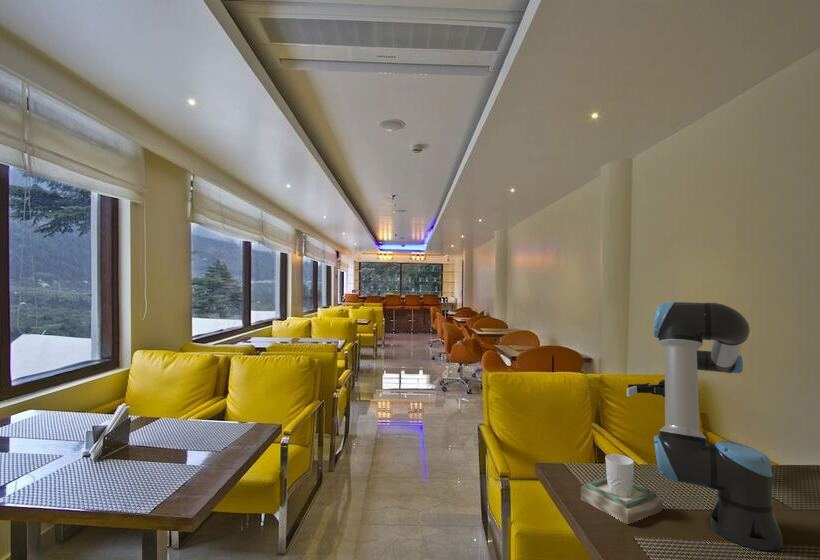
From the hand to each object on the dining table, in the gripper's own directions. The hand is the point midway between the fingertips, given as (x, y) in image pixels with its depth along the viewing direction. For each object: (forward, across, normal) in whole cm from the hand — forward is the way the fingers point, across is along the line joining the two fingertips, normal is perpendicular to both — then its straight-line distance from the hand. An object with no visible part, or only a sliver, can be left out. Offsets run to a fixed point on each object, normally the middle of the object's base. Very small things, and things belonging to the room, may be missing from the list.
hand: (647, 396), depth 139 cm
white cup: (+22, 0, -26) cm, 34 cm away
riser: (+22, -1, -30) cm, 37 cm away
